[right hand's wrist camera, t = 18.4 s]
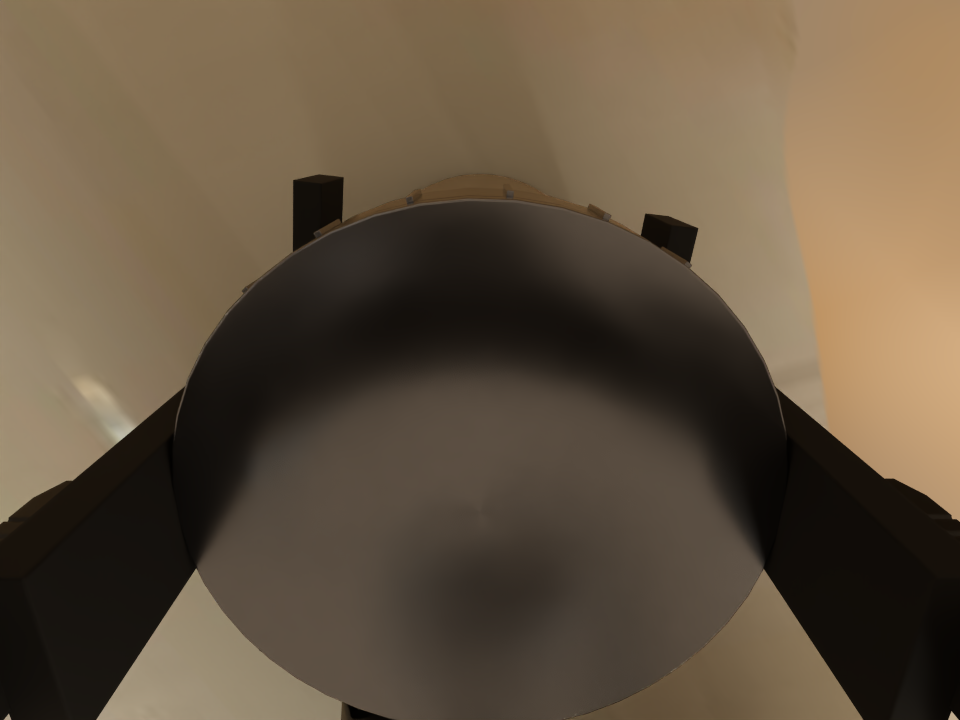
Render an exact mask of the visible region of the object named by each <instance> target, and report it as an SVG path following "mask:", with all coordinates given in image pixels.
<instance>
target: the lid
mask: <svg viewBox="0 0 960 720" xmlns="http://www.w3.org/2000/svg"><path fill="white" fill-rule="evenodd" d="M610 217H611V215H610V214H608V213H606V212H605V211H603V210H601V209H599V208H598V207H596V206H594V205H592V204H589V206H588V208H587V207H583V206H580V205H577V204H574V203H571V202H568V201H564V200H561V199H558V198H555V197H552V196H548V195H542V194H536V193H531V192H525V191H519V190H513V189H512V187H511V186H510V184H503V189H496V188H461V189H452V190H442V191H432V192H427V193H423V194H422V192H421V189H417V190H414V191H413V192H412V193H411V194H409V195H408V196H407V197H406V198H402V199H398V200H394V201H390V202H388V203H385V204H383V205H380V206H378V207H375V208H373V209H370V210H368V211H365V212H363V213H360V214H358V215H355V216H353V217H352V218H350V219H348V220H346V221H345V222H343V223H341V221H340V220H339V219H337V220H335V221H334V222H332V223H330V224H328V225H327V226H325V227H323V228H321V229H320V230H318V231H316V232H314V235H315V237H316V238H315V239H314V240H312V241H310V242H309V243H307V244H305V245H304V246H302V247H300V248H299V249H297V250H296V251H294V252H292V253H291V254H289V255H288V256H287V257H286V258H284V259H283V260H282V261H280V262H279V263H278V264H277V265H275V266H274V267H273V268H271V269H270V270H269V271H268V272H266V273H265V274H264V275H262V276H261V277H260V278H259V279H257V280H256V281H254V282H253V283H251V284H249V285H248V286H246V287H245V288H244V289H243V290H242V292H243V293H244V294H243V295H242V296H241V297H240V298H239V299H238V300H237V301H236V302H235V303H234V304H233V305H232V307H231V308H230V309H229V310H228V311H227V312H226V314H225V315H224V316H223V318H222V319H221V321H220V322H219V324H218V325H217V327H216V328H215V329H214V331H213V332H212V334H211V335H210V337H209V338H208V340H207V341H206V342H205V344H204V346H203V348H202V350H201V352H200V354H199V356H198V358H197V360H196V362H195V365H194V367H193V369H192V371H191V373H190V375H189V377H188V379H187V382H186V386H185V389H184V392H183V396H182V399H181V402H180V406H179V409H178V412H177V417H176V424H175V432H174V439H173V446H172V486H173V491H174V496H175V501H176V506H177V511H178V516H179V521H180V525H181V530H182V533H183V536H184V539H185V542H186V545H187V548H188V551H189V554H190V556H191V558H192V560H193V562H194V564H195V566H196V568H197V570H198V572H199V574H200V576H201V578H202V580H203V582H204V584H205V586H206V587H207V589H208V590H209V592H210V593H211V594H212V596H213V597H214V599H215V600H216V602H217V603H218V605H219V606H220V608H221V609H222V611H223V612H224V613H225V614H226V616H227V617H228V618H229V619H230V620H231V621H232V622H233V624H234V625H235V626H236V627H237V628H238V629H239V630H240V632H241V633H242V634H243V635H244V636H245V637H246V638H247V639H248V640H249V641H250V642H251V643H253V644H254V645H255V646H256V647H257V648H258V649H259V650H260V651H261V652H263V653H264V654H265V655H266V656H267V657H268V658H269V659H271V660H272V661H273V662H275V663H276V664H278V665H279V666H280V667H282V668H283V669H285V670H286V671H287V672H289V673H290V674H292V675H293V676H294V677H296V678H297V679H299V680H301V681H303V682H304V683H306V684H308V685H310V686H311V687H313V688H315V689H317V690H319V691H320V692H322V693H324V694H326V695H328V696H330V697H332V698H335V699H337V700H339V701H342V702H344V703H346V704H349V705H351V706H353V707H356V708H358V709H361V710H364V711H368V712H371V713H374V714H377V715H380V716H383V717H386V718H390V719H394V720H565V719H568V718H572V717H576V716H580V715H583V714H587V713H590V712H593V711H595V710H598V709H601V708H603V707H606V706H608V705H611V704H614V703H616V702H619V701H621V700H623V699H625V698H627V697H629V696H631V695H633V694H635V693H637V692H639V691H641V690H643V689H645V688H647V687H649V686H651V685H652V684H654V683H655V682H657V681H659V680H660V679H662V678H663V677H665V676H666V675H668V674H670V673H671V672H673V671H674V670H676V669H677V668H679V667H680V666H681V665H682V664H684V663H685V662H686V661H687V660H689V659H690V658H691V657H692V656H694V655H695V654H696V653H697V652H698V651H700V650H701V649H702V648H703V647H704V646H705V645H706V644H707V643H708V642H709V641H710V640H711V639H712V638H713V637H714V636H715V635H716V634H717V633H718V632H719V631H720V630H721V629H722V628H723V627H724V626H725V625H726V624H727V623H728V622H729V620H730V619H731V618H732V616H733V615H734V614H735V612H736V611H737V610H738V608H739V607H740V606H741V605H742V603H743V602H744V601H745V599H746V598H747V597H748V595H749V593H750V591H751V590H752V588H753V586H754V585H755V583H756V581H757V579H758V578H759V576H760V574H761V572H762V571H763V569H764V567H765V565H766V562H767V560H768V557H769V555H770V552H771V550H772V547H773V545H774V542H775V540H776V536H777V532H778V527H779V522H780V518H781V513H782V509H783V504H784V499H785V493H786V488H787V479H788V451H787V435H786V428H785V424H784V419H783V414H782V410H781V405H780V401H779V396H778V393H777V391H776V388H775V386H774V383H773V381H772V378H771V376H770V373H769V371H768V368H767V366H766V363H765V360H764V359H763V357H762V355H761V354H760V352H759V350H758V348H757V347H756V345H755V343H754V342H753V340H752V338H751V337H750V335H749V333H748V331H747V329H746V328H745V326H744V325H743V324H742V323H741V321H740V320H739V319H738V318H737V317H736V315H735V314H734V313H733V312H732V310H731V309H730V308H729V307H728V306H727V304H726V303H725V302H724V301H723V299H722V298H721V297H720V296H719V295H718V294H717V293H716V292H715V291H714V290H713V289H712V288H711V287H710V286H708V285H707V284H706V283H705V282H704V281H703V280H702V279H701V278H700V277H699V276H697V275H696V274H695V273H694V272H693V271H692V270H691V269H690V267H691V266H692V265H691V264H690V263H689V262H688V261H686V260H684V259H683V258H681V257H679V256H678V255H676V254H674V253H673V252H671V251H669V250H667V249H666V248H664V247H661V248H659V247H658V246H656V245H655V244H653V243H652V242H650V241H649V240H647V239H645V238H644V237H642V236H640V235H639V234H637V233H635V232H634V231H632V230H630V229H629V228H627V227H625V226H624V225H622V224H620V223H618V222H616V221H614V220H612V219H610Z"/></svg>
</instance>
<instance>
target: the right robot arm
mask: <svg viewBox="0 0 960 720" xmlns="http://www.w3.org/2000/svg"><path fill="white" fill-rule="evenodd" d="M775 388H776V387H775ZM184 389H185V387H184V388H182V389H181V390H180V391H179V392H178V393H177V394H175V395H174V396H173V397H172V398H171V399H169V400H168V401H167V402H166V403H165V404H163V405H162V406H161V407H160V408H159V409H158V410H156V411H155V412H154V413H153V414H152V415H150V416H149V417H148V418H147V419H146V420H144V421H143V422H142V423H141V424H140V425H139V426H137V427H136V428H135V429H134V430H133V431H131V432H130V433H129V434H128V435H127V436H125V437H124V438H123V439H122V440H121V441H120V442H118V443H117V444H116V445H115V446H114V447H112V448H111V449H110V450H109V451H108V452H106V453H105V454H104V455H103V456H102V457H100V458H99V459H98V460H97V461H96V462H95V463H93V464H92V465H91V466H90V467H89V468H87V469H86V470H85V471H84V472H83V473H81V474H80V475H79V476H78V477H77V478H76V479H74V480H73V481H65V482H63V483H61V484H59V485H57V486H55V487H53V488H51V489H49V490H48V491H46V492H44V493H42V494H40V495H38V496H36V497H34V498H32V499H31V500H30V501H29V502H28V503H26V504H25V505H24V506H23V507H21V508H20V509H19V510H18V511H16V512H15V513H14V514H13V515H11V516H10V517H9V520H8V522H3V523H1V524H0V720H4V719H5V717H6V716H7V715H8V714H9V715H10V717H11V720H96V719H97V718H98V716H99V715H100V713H101V712H102V710H103V709H104V707H105V706H106V704H107V702H108V701H109V699H110V698H111V696H112V695H113V693H114V692H115V690H116V689H117V687H118V686H119V684H120V683H121V681H122V680H123V678H124V677H125V675H126V674H127V672H128V671H129V669H130V668H131V666H132V665H133V663H134V662H135V660H136V659H137V657H138V655H139V654H140V652H141V651H142V649H143V648H144V646H145V645H146V643H147V642H148V640H149V639H150V637H151V636H152V634H153V633H154V631H155V630H156V628H157V627H158V625H159V624H160V622H161V621H162V619H163V618H164V616H165V615H166V613H167V612H168V610H169V608H170V607H171V605H172V604H173V602H174V601H175V599H176V598H177V596H178V595H179V593H180V592H181V590H182V589H183V587H184V586H185V584H186V583H187V581H188V580H189V578H190V577H191V575H192V574H193V572H194V571H195V569H196V566H195V564H194V562H193V560H192V558H191V556H190V554H189V551H188V548H187V545H186V542H185V539H184V536H183V533H182V530H181V525H180V521H179V516H178V511H177V506H176V501H175V496H174V491H173V486H172V446H173V439H174V432H175V424H176V417H177V412H178V409H179V406H180V402H181V399H182V396H183V392H184ZM776 391H777V393H778V396H779V401H780V405H781V410H782V414H783V419H784V424H785V428H786V435H787V451H788V479H787V488H786V493H785V499H784V504H783V509H782V513H781V518H780V522H779V527H778V532H777V536H776V540H775V542H774V545H773V547H772V550H771V552H770V555H769V557H768V560H767V562H766V565H765V567H764V570H765V571H766V573H767V574H768V576H769V577H770V579H771V580H772V582H773V583H774V585H775V586H776V588H777V589H778V591H779V592H780V594H781V595H782V597H783V598H784V600H785V601H786V603H787V605H788V606H789V608H790V609H791V611H792V612H793V614H794V615H795V617H796V618H797V620H798V621H799V623H800V624H801V626H802V627H803V629H804V630H805V632H806V633H807V635H808V636H809V638H810V639H811V641H812V642H813V644H814V645H815V647H816V649H817V650H818V652H819V653H820V655H821V656H822V658H823V659H824V661H825V662H826V664H827V665H828V667H829V668H830V670H831V671H832V673H833V674H834V676H835V677H836V679H837V680H838V682H839V683H840V685H841V686H842V688H843V689H844V691H845V692H846V694H847V696H848V697H849V699H850V700H851V702H852V703H853V705H854V706H855V708H856V709H857V711H858V712H859V714H860V715H861V717H862V718H863V720H948V718H949V716H950V713H951V711H952V712H953V713H954V714H955V716H956V717H957V718H958V719H959V720H960V522H959V521H958V520H957V519H952V517H951V515H950V514H949V513H948V512H947V511H945V510H944V509H943V508H942V507H940V506H939V505H938V504H937V503H935V502H934V501H933V500H932V499H930V498H929V497H928V496H927V495H925V494H923V493H921V492H919V491H917V490H915V489H913V488H911V487H909V486H907V485H905V484H903V483H901V482H899V481H897V480H895V479H884V478H883V477H882V476H880V475H879V474H878V473H877V472H876V471H875V470H873V469H872V468H871V467H870V466H869V465H867V464H866V463H865V462H864V461H863V460H861V459H860V458H859V457H858V456H857V455H855V454H854V453H853V452H852V451H851V450H850V449H848V448H847V447H846V446H845V445H843V444H842V443H841V442H840V441H839V440H838V439H837V438H835V437H834V436H833V435H832V434H831V433H829V432H828V431H827V430H826V429H825V428H823V427H822V426H821V425H820V424H819V423H818V422H816V421H815V420H814V419H813V418H812V417H810V416H809V415H808V414H807V413H806V412H804V411H803V410H802V409H801V408H800V407H798V406H797V405H796V404H795V403H794V402H793V401H791V400H790V399H789V398H788V397H787V396H785V395H784V394H783V393H782V392H781V391H779V390H778V389H777V388H776Z"/></svg>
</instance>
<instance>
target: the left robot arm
mask: <svg viewBox="0 0 960 720" xmlns="http://www.w3.org/2000/svg"><path fill="white" fill-rule="evenodd" d="M343 179H344V177H336V176H328V175H315V176H310V177H306V178H301V179H297V180H293V252H294V251H296V250H297V249H299V248H300V247H302V246H304V245H305V244H307V243H309V242H310V241H312V240H314V239H315V238H316V237H315V235H314V232H316V231H318V230H320V229H321V228H323V227H325V226H327V225H328V224H330V223H332V222H334V221H335V220H337V219H339V220H340V221H341V223H342V208H343ZM697 232H698V228H696V227H694V226H691V225H689V224H686V223H684V222H681V221H679V220H676V219H674V218H672V217H669V216H662V215H654V214H645V218H644V223H643V227H642V232H641V236H642V237H644V238H645V239H647V240H649V241H650V242H652V243H653V244H655V245H656V246H658V247H659V248H661V247H664V248H666V249H667V250H669V251H671V252H673V253H674V254H676V255H678V256H679V257H681V258H683V259H684V260H686V261H688V262H689V263H690V261H691V257H692V253H693V248H694V244H695V240H696V236H697ZM341 720H394V719H390V718H386V717H383V716H380V715H377V714H374V713H371V712H368V711H364V710H361V709H358V708H356V707H353V706H351V705H349V704H346V703H344V702H342V712H341Z"/></svg>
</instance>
